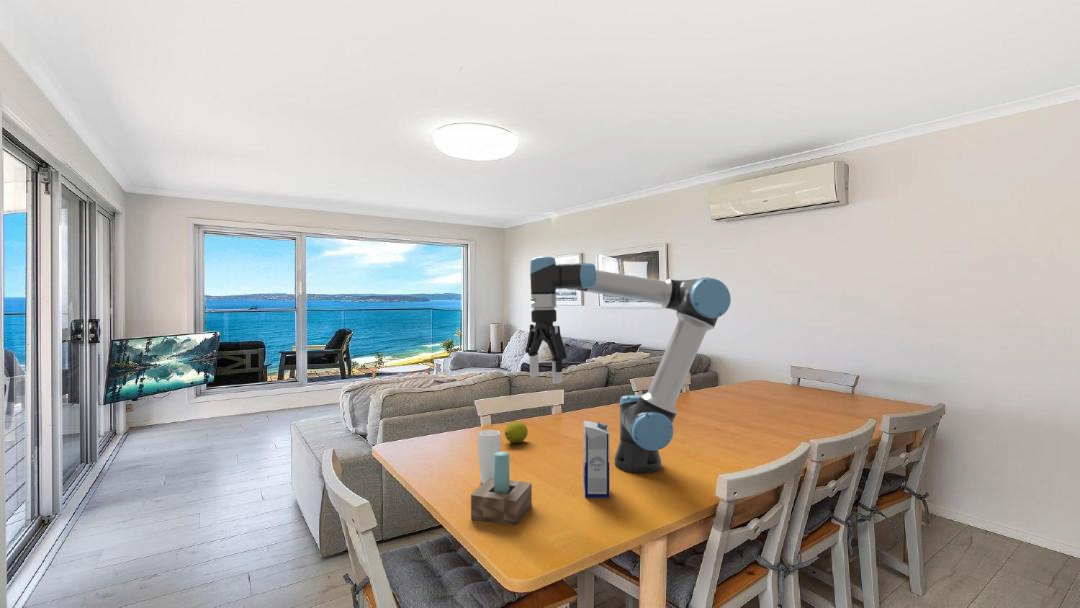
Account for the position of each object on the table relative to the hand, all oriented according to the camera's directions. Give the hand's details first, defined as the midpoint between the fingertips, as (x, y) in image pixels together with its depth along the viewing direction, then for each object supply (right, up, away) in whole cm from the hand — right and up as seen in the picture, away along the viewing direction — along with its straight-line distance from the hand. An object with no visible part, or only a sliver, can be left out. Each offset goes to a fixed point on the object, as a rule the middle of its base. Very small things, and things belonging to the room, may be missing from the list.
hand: (545, 380), depth 142 cm
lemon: (-11, -31, +39) cm, 51 cm away
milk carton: (+14, -31, -8) cm, 35 cm away
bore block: (-11, -31, -19) cm, 38 cm away
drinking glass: (-17, -31, 0) cm, 35 cm away
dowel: (-12, -30, -20) cm, 38 cm away
